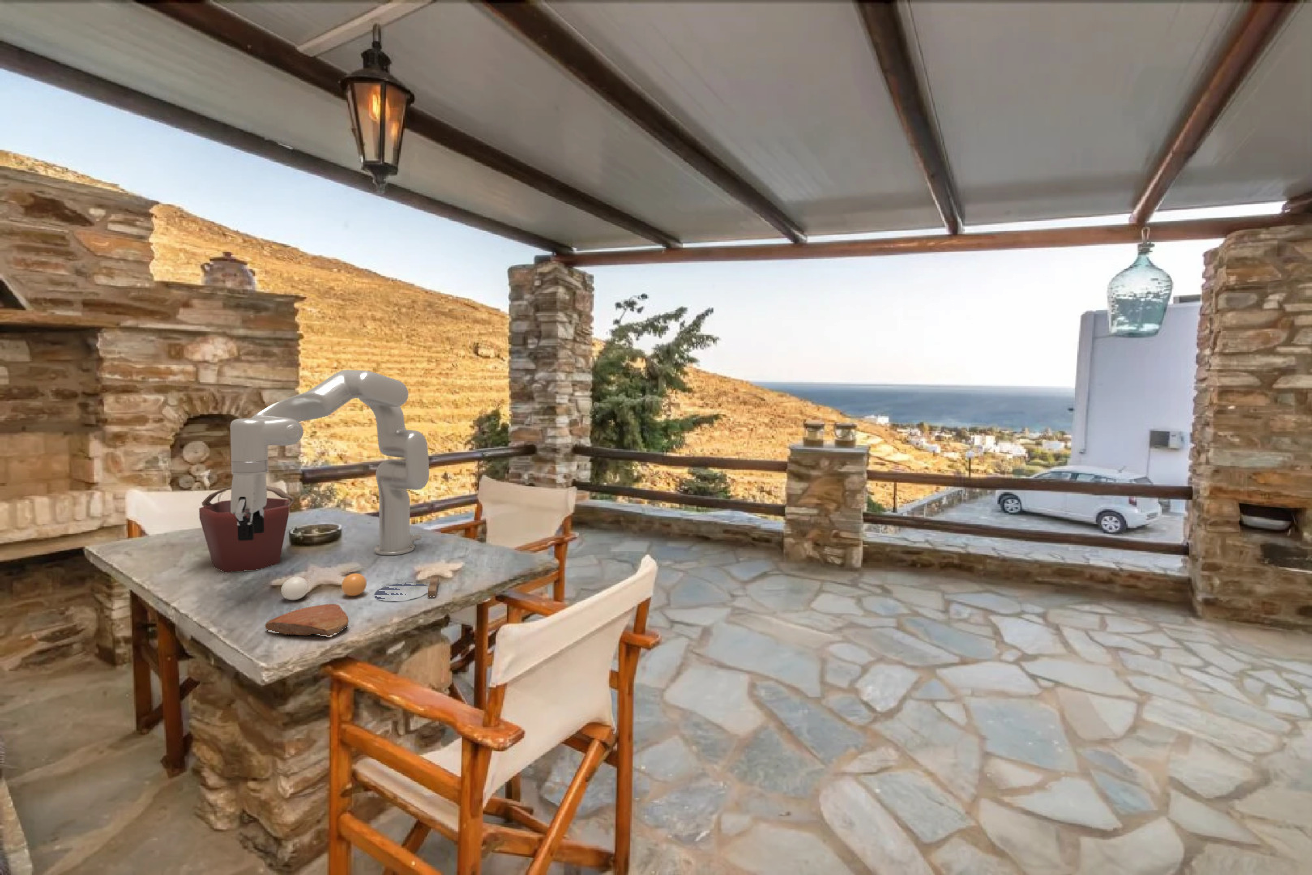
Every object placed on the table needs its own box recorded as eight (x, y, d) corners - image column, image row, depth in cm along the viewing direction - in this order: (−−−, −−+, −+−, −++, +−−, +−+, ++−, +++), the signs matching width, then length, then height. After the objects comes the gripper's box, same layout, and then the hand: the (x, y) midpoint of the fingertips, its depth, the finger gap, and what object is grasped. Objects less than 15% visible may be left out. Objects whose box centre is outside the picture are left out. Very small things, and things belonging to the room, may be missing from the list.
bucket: (311, 556, 179) (310, 481, 176) (255, 579, 157) (253, 494, 154) (242, 550, 181) (240, 476, 179) (178, 572, 159) (175, 488, 157)
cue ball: (300, 593, 148) (299, 571, 147) (313, 598, 145) (313, 576, 145) (276, 600, 143) (276, 578, 142) (289, 605, 140) (289, 582, 139)
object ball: (357, 589, 152) (357, 568, 152) (371, 594, 150) (371, 573, 149) (336, 596, 147) (336, 575, 146) (350, 601, 144) (350, 579, 144)
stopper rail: (431, 582, 160) (431, 576, 160) (438, 582, 160) (438, 575, 160) (427, 598, 148) (427, 591, 148) (435, 597, 149) (435, 590, 149)
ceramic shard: (284, 629, 116) (262, 618, 126) (290, 658, 117) (268, 645, 126) (355, 602, 127) (331, 593, 137) (361, 628, 128) (336, 618, 138)
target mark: (407, 579, 161) (407, 579, 161) (440, 589, 155) (440, 588, 155) (362, 594, 149) (362, 594, 149) (397, 606, 143) (397, 605, 143)
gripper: (246, 462, 145) (248, 528, 147) (216, 472, 129) (218, 546, 130) (279, 462, 147) (280, 527, 149) (253, 472, 131) (255, 545, 133)
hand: (251, 535), depth 140 cm, fingers open, 6 cm apart
